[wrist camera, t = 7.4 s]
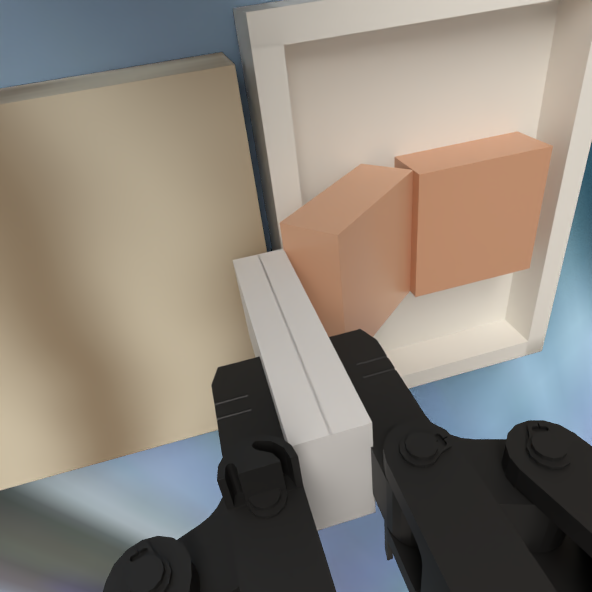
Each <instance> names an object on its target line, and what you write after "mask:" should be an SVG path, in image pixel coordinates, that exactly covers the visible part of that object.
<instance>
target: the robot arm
mask: <svg viewBox="0 0 592 592" xmlns="http://www.w3.org/2000/svg"><path fill="white" fill-rule="evenodd" d="M233 265H234V269H235V274H236V278H237V283H238V287H239V292H240V296H241V301H242V305H243V310H244V314H245V319H246V323H247V328H248V332H249V336H250V340H251V343H252V347H253V350H254V354H255V358H252V359H248V360H244V361H240V362H236V363H232V364H229V365H225V366H221V367H218V368H217V371H216V373H215V376H214V379H213V382H212V384H211V387H212V393H213V399H214V405H215V412H216V418H217V425H218V431H219V437H220V444H221V450H222V456H223V458H222V460H221V462H220V464H219V466H218V474H217V482H218V485H219V487H220V490H221V493H222V496H223V498H222V499H221V501H220V503H219V505H218V507H217V508H216V509H215V511H214V512H213V513H212V514H211V516H210V517H209V518H207V519H206V520H205V521H204V522H202V523H201V524H200V525H199V526H197V527H196V528H194V529H193V530H191V531H190V532H188V533H187V534H185V535H184V536H182V537H181V538H179V539H178V540H175V539H174V538H171V537H163V536H156V537H152V538H148V539H145V540H142V541H140V542H138V543H137V544H135V545H134V546H132V547H131V548H129V549H128V550H126V551H125V553H124V554H123V555H122V556H121V557H120V558H119V559H118V561H117V562H116V563H115V564H114V566H113V568H112V570H111V572H110V574H109V576H108V578H107V581H106V583H105V586H104V590H103V592H336V589H335V586H334V583H333V580H332V577H331V573H330V570H329V567H328V564H327V560H326V557H325V554H324V551H323V548H322V544H321V541H320V538H319V535H318V530H321V529H324V528H327V527H331V526H334V525H337V524H340V523H343V522H347V521H350V520H353V519H356V518H359V517H362V516H365V515H368V514H372V513H375V500H376V502H377V504H378V507H379V509H380V511H381V513H382V516H383V518H384V521H385V551H386V556H387V560H390V559H393V555H394V557H395V560H396V562H397V564H398V567H399V569H400V571H401V574H402V576H403V578H404V581H405V583H406V586H407V588H408V590H409V592H592V446H591V445H589V444H588V443H587V442H585V441H584V440H583V439H581V438H580V437H579V436H577V435H576V434H575V433H573V432H571V431H569V430H568V429H566V428H564V427H562V426H561V425H558V424H554V423H551V422H547V421H526V422H523V423H520V424H517V425H515V426H514V427H513V428H512V429H511V431H510V432H509V433H508V435H507V439H465V438H460V437H456V436H453V435H450V434H449V433H448V432H447V431H446V430H445V429H443V428H441V427H439V426H437V425H435V424H433V423H431V422H430V420H429V419H428V418H427V417H426V416H425V414H424V412H423V411H422V409H421V408H420V406H419V405H418V403H417V402H416V400H415V398H414V397H413V395H412V394H411V392H410V391H409V389H408V387H407V386H406V384H405V383H404V381H403V380H402V378H401V377H400V375H399V373H398V372H397V370H395V368H394V366H393V364H392V362H391V361H390V359H389V358H387V355H386V353H385V352H384V350H383V348H382V347H381V345H380V344H379V342H378V341H377V339H375V338H374V337H372V336H371V335H369V334H368V333H366V332H365V331H363V330H362V329H358V330H354V331H350V332H346V333H342V334H339V335H335V336H331V337H328V335H327V333H326V331H325V329H324V327H323V325H322V323H321V321H320V319H319V317H318V315H317V313H316V311H315V309H314V307H313V306H312V304H311V302H310V300H309V298H308V296H307V294H306V292H305V290H304V288H303V286H302V284H301V282H300V280H299V278H298V276H297V274H296V272H295V270H294V268H293V266H292V264H291V262H290V260H289V258H288V256H287V254H286V253H285V251H284V249H279V250H275V251H270V252H266V253H261V254H257V255H253V256H248V257H244V258H240V259H235V260H233Z"/></svg>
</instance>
